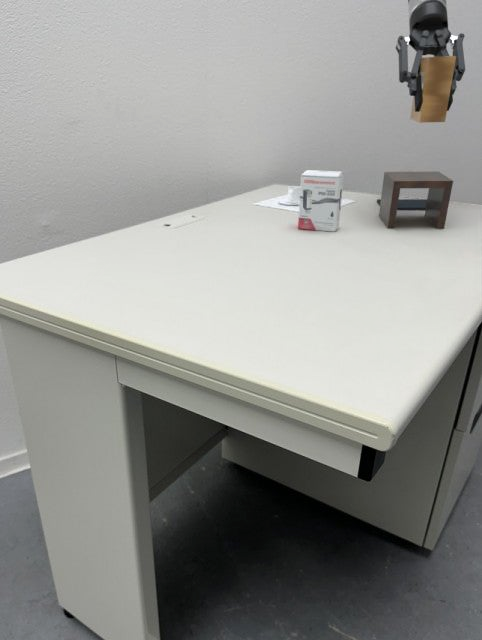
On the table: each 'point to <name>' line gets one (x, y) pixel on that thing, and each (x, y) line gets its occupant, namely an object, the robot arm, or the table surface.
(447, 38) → the robot arm
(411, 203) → the mat
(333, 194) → the ink box
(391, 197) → the shelf
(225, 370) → the table surface
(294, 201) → the teacup and saucer
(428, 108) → the tape carton
